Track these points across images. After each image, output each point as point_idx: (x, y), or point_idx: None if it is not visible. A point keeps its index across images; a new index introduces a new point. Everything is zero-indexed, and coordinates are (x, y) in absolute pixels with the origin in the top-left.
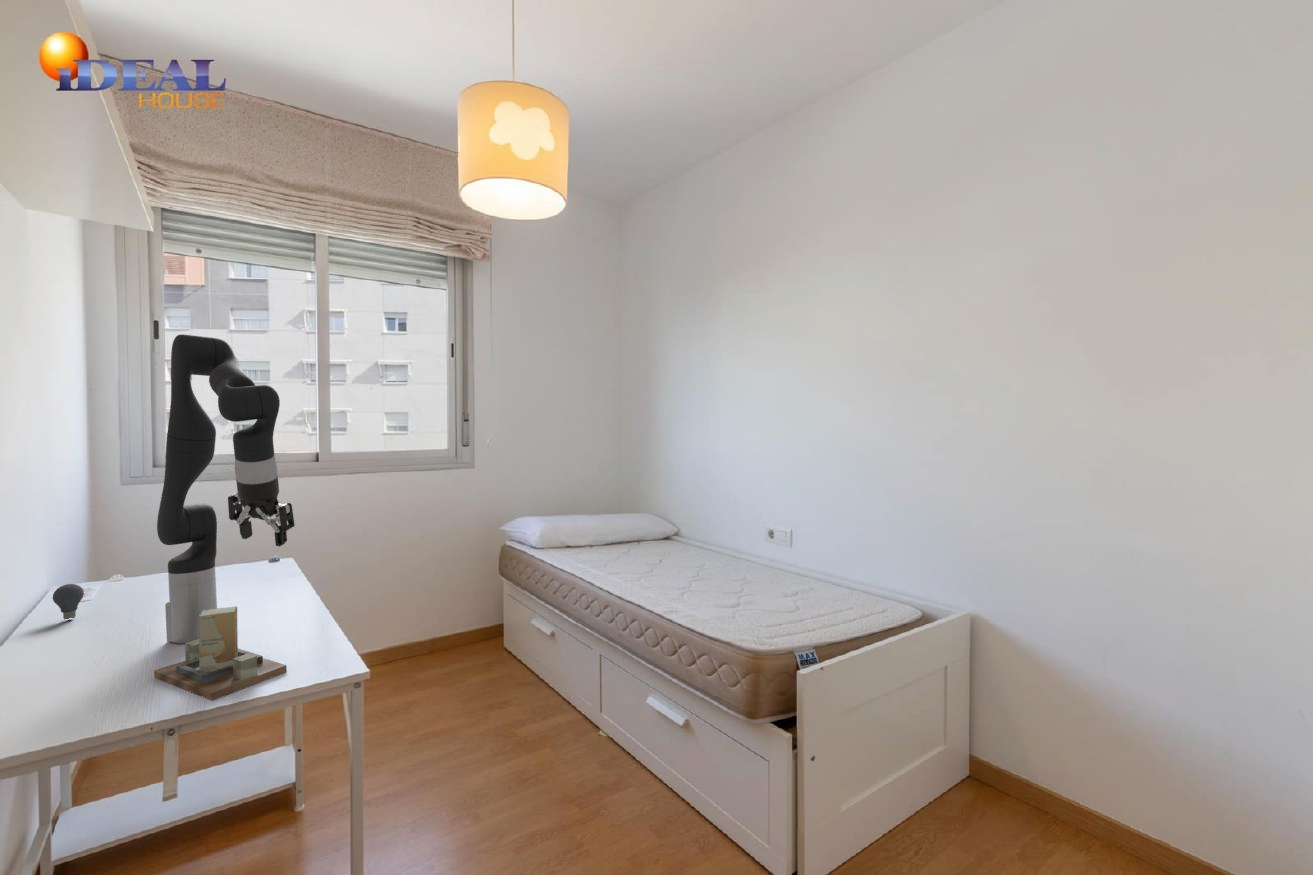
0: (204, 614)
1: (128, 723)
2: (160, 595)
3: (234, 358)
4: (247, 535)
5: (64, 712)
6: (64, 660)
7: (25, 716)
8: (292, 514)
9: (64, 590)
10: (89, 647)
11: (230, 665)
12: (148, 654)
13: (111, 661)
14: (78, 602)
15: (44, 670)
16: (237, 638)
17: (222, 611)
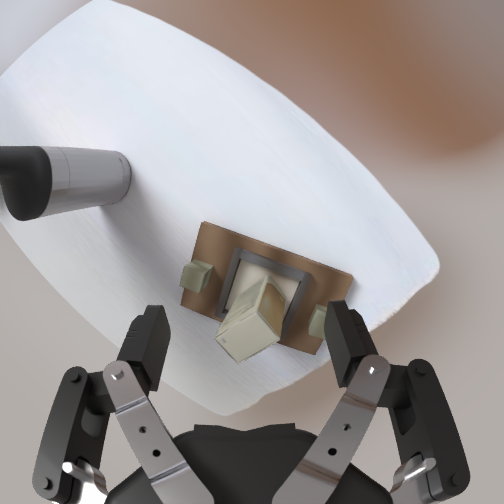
0: (239, 357)
1: (267, 387)
2: (8, 98)
3: None
4: (165, 331)
5: (182, 369)
6: (61, 261)
7: None
8: (452, 425)
9: None
10: (49, 228)
11: (289, 311)
12: (110, 237)
13: (96, 260)
14: None
15: (70, 284)
16: (266, 288)
17: (258, 342)
